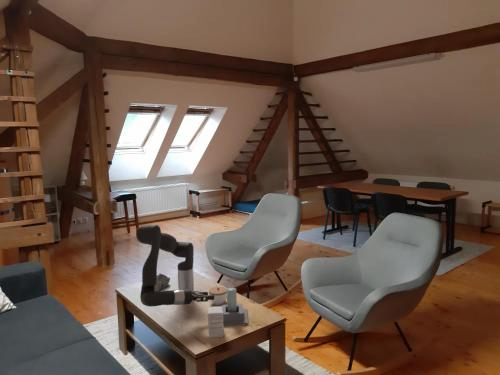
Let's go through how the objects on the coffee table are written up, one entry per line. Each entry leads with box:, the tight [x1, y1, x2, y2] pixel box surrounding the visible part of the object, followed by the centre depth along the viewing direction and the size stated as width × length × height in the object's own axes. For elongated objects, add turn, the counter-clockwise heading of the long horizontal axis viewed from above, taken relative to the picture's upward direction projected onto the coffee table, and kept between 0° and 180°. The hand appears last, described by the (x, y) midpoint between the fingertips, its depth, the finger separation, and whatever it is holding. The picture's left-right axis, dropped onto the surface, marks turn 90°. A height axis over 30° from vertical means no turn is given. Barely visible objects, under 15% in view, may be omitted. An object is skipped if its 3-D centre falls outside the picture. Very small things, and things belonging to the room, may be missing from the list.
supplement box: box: [207, 305, 225, 339], centre depth 194 cm, size 7×7×13 cm
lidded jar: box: [208, 286, 228, 306], centre depth 230 cm, size 11×11×9 cm
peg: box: [226, 287, 238, 312], centre depth 210 cm, size 5×5×15 cm
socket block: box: [221, 304, 249, 327], centre depth 211 cm, size 16×16×5 cm
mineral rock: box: [154, 273, 171, 292], centre depth 253 cm, size 13×11×10 cm
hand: (210, 295), depth 209 cm, fingers open, 8 cm apart
